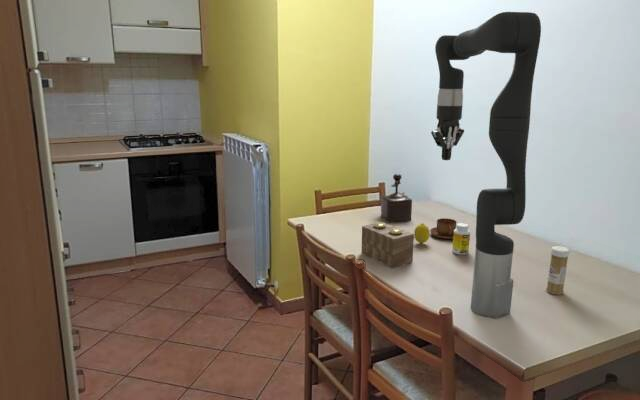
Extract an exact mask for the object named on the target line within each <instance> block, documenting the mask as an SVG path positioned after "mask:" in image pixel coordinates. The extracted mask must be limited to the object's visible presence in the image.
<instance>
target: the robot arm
mask: <svg viewBox="0 0 640 400" xmlns="http://www.w3.org/2000/svg"><path fill="white" fill-rule="evenodd" d="M541 23H542V22H541V19H540V17H539V16H538V14H536V13H535V12H528V11H527V12H525V11H523V12H522V11H503V12H500V13H497V14H496V15H493V16H492V17H491V18H489V19H487V20H486V21H485V22H483V23H482V24H480V25H478V26H477V27H475V28H472V29H469V30H466V31H463V32H461V33H459V34H458V35H455V34H454V35H450V34H449V35H441V36H439V37H438V39H437V41H436V43H435V45H434V46H435V49H434V50H435V56H436V61H437V65H438V70H439V82H438V83H439V84H438V85H439V86H438V93H437V104H436V119H437V120H438V122H437V125H436V129H435V130H432V131H431V132H430V133H431V136H432V138H433V140H434V142H435V143H436V145H437V147H440V148H441V160H442V161H451V158H452V152H453V151H452V149H453V147H455V146H457V145H458V143H459V141H460V140H461V139H462V137H463V135H464V133H465V129H464V128H461V127H460V126H461V125H460V121H461V120H462V117H463V104H464V103H463V102H464V93H463V92H464V89H463V88H464V78H465V77H464V75H465V74H464V70H463V69H461V68H458V67H454V66H453V65H452V64H451V61H465V60H468V59H470V58H471V57H476V56H479V55H482V54H483V53H484V52H485V51H490V52H494V53H495V52H496V53H499V54H514V61H513V66H512V67H513V68H512V71H511V73H510V76H509V78H508V80H507V82H506V83H505V85H504V87H503V88H502V90H501V91H500V93H499V94H498V95H497V97H496V99H495V100H494V102H493V104H492V105H491V108H490V112H489V121H488V122H489V124H488V137H489V141H490V142H491V146H492V147H493V149H494V150H495V152H496V154H497V155H498V157H499V159H500V161H501V162H502V165H503V167H504V171H505V175H506V187H505V188H484V189H482V190H481V191H480V192H479V193H478V196H477V200H476V220H475V221H476V222H475V224H476V225H475V253H474V266H473V273H472V274H473V275H472V286H471V287H472V288H471V298H470V299H471V300H470V309H471V310H472V311H473V312H474V313H475V314H478V315H480V316H484V317H488V318H493V319H499V318H501V317H503V316H505V315H509V314H510V313H511V309H512V299H513V289H514V279H513V278H511V275H512V265H513V255H514V248H515V247H514V246H515V243H514V240H513V239H512V238H511V237H509V236H507V235H504V234H501V233H499V232H496V231H495V226H503V225H504V226H505V225H508V226H509V225H511V226H512V225H518V224H520V223H521V222H522V221H523V219H524V217H525V212H526V201H527V200H526V199H527V197H526V194H527V193H526V190H527V189H526V182H527V181H526V179H527V177H526V167H527V165H526V164H527V150H528V141H529V135H530V134H529V133H530V124H531V123H530V122H531V106H532V94H533V85H534V84H533V83H534V76H535V72H536V64H537V58H538V54H539V48H540V42H541V34H542V25H541Z"/></svg>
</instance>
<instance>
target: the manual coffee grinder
mask: <svg viewBox="0 0 640 400" xmlns="http://www.w3.org/2000/svg"><path fill="white" fill-rule="evenodd" d="M392 178H393V180H394V183H393V184H391V188H395V192H393V193H391V194H388V195H381V196H380V216H381V218H382V219H384V220H385V221H387V222H388V223H401V222H402V223H403V222H410V221H412V208H413V206H412V205H413V201H412V199H411V198H409V197H408V196H407V195H406V194H405V192H402V193H400V192H399V190H398V188H399V185H401V179H402V175H401V174H400V173H395V174H394V175H393V176H392Z"/></svg>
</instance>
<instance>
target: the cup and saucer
mask: <svg viewBox="0 0 640 400" xmlns="http://www.w3.org/2000/svg"><path fill="white" fill-rule="evenodd" d="M456 227H457V220H455V219H452V218H445V217H444V218H443V217H442V218H438V219H437V220H436V227H432V228H431V229H429V232H430V235H432V236H434V237H436V238H440V239H443V240H445V239H446V240H453V235H454V230H455V229H456Z"/></svg>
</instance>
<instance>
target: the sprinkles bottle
mask: <svg viewBox="0 0 640 400" xmlns="http://www.w3.org/2000/svg"><path fill="white" fill-rule="evenodd" d="M550 254H551V255H550V256H551V257H550V264H549V269H548V274H547V275H548V277H547V283H546V284H547V285H546V292H548V293H549V294H552V295H563V294H564V288H565V280H566V275H567V268H568V266H567V264H568V258H569V255H570V249H569V248H568V247H564V246H561V245H560V246H557V245H555V246H552V247H551V250H550Z"/></svg>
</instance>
